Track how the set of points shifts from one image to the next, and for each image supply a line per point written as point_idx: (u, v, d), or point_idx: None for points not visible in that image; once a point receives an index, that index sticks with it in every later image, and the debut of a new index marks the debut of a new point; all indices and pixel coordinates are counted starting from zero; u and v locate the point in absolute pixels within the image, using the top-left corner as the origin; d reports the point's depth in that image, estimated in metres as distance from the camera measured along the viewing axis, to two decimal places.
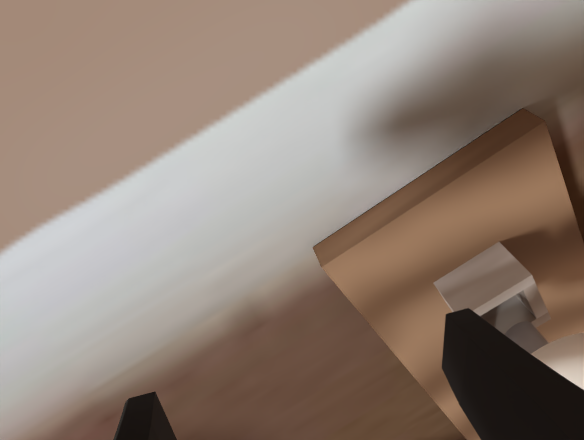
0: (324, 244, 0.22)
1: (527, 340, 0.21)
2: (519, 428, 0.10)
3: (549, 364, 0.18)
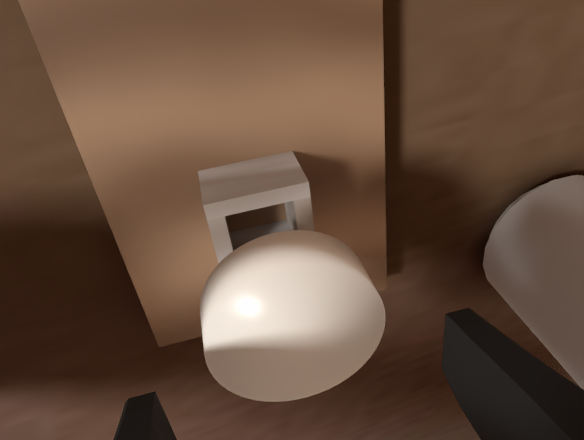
0: None
1: None
2: (519, 428, 0.10)
3: None
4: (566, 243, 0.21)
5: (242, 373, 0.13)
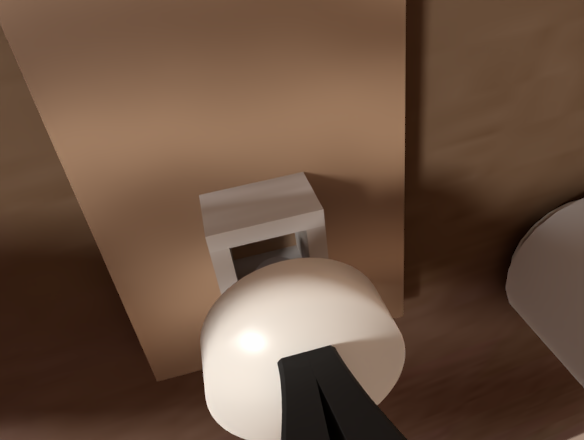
0: None
1: None
2: None
3: None
4: None
5: (247, 415, 0.12)
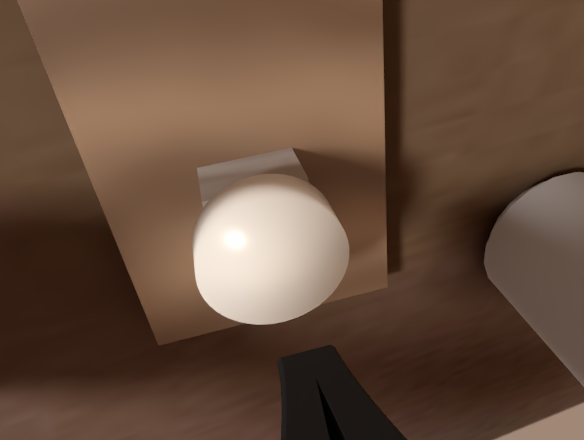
0: None
1: None
2: None
3: None
4: (568, 240, 0.20)
5: (227, 295, 0.16)
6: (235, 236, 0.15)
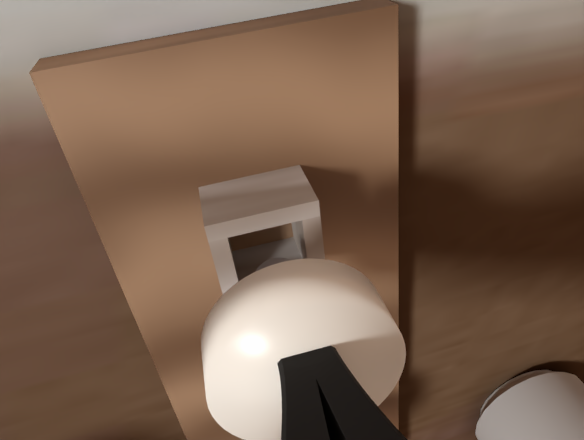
0: (57, 57, 0.15)
1: None
2: None
3: (281, 282, 0.11)
4: None
5: None
6: None
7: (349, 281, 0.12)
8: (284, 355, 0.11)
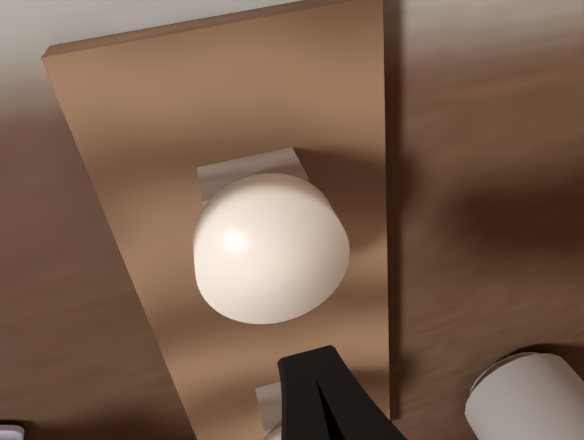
0: (66, 44, 0.16)
1: None
2: None
3: (252, 187, 0.15)
4: (523, 422, 0.28)
5: None
6: None
7: (304, 189, 0.15)
8: (254, 242, 0.15)
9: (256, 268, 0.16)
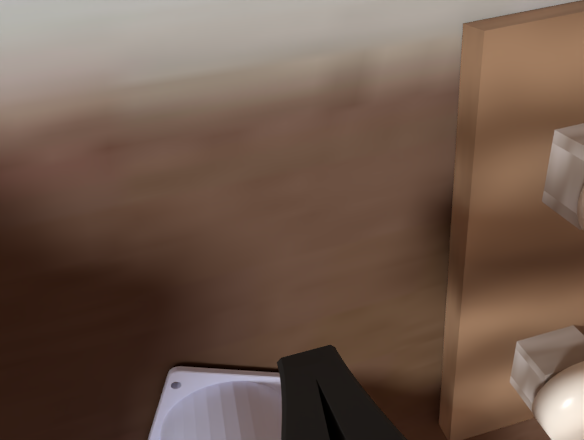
0: (481, 22, 0.19)
1: None
2: None
3: None
4: None
5: (563, 434, 0.26)
6: (583, 404, 0.25)
7: None
8: None
9: None
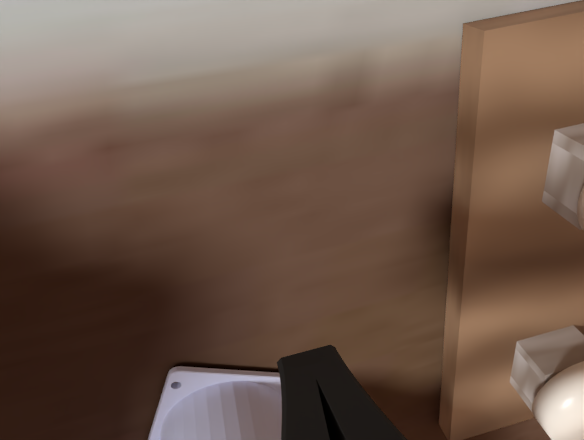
0: (481, 22, 0.19)
1: None
2: None
3: None
4: None
5: (563, 434, 0.26)
6: (583, 404, 0.25)
7: None
8: None
9: None
